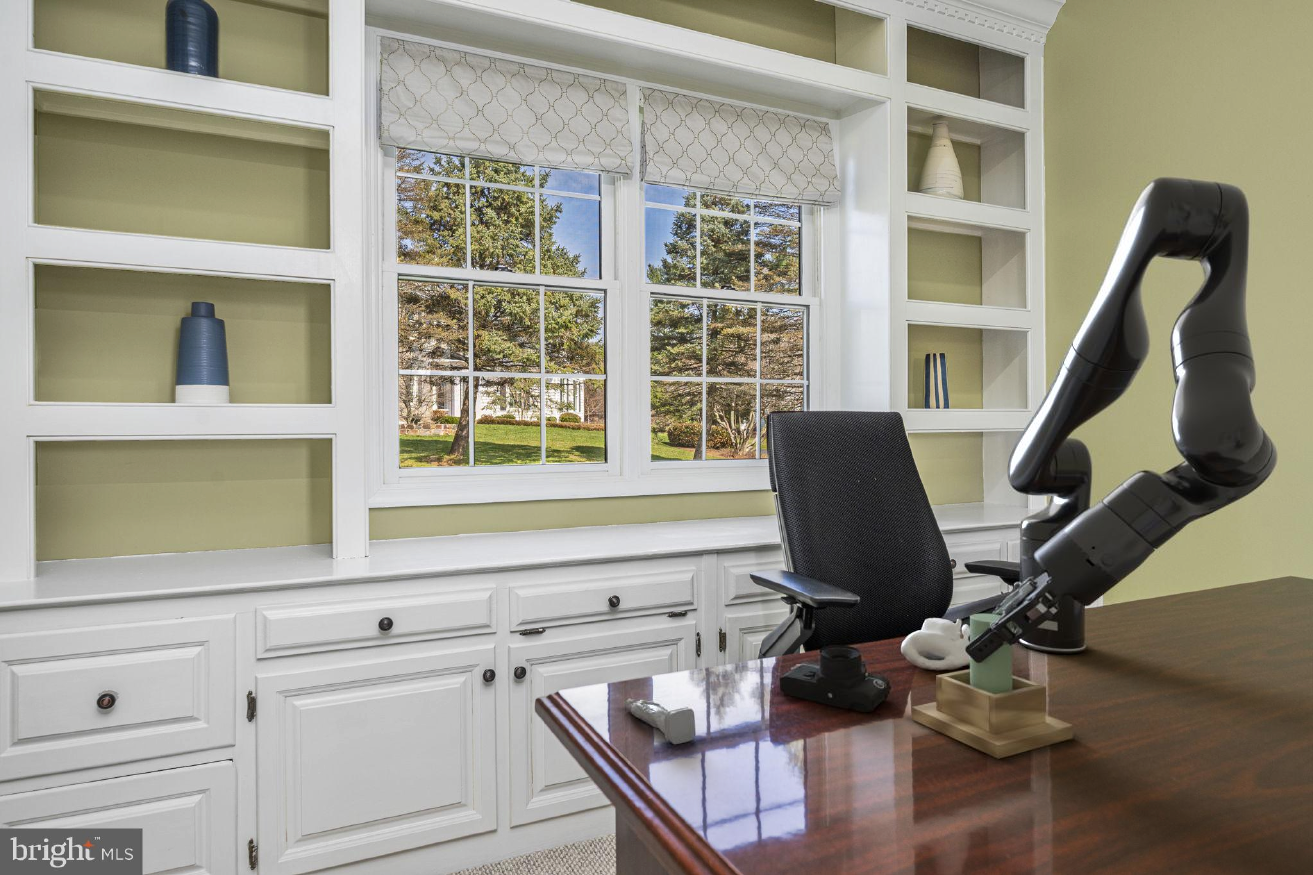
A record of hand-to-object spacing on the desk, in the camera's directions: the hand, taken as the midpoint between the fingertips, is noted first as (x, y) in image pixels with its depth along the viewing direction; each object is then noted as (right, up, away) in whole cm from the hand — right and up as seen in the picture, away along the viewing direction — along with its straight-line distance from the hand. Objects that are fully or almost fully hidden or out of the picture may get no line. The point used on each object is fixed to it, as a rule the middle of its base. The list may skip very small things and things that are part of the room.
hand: (972, 649), depth 86 cm
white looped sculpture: (+6, -9, +23) cm, 25 cm away
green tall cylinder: (+2, -5, -1) cm, 5 cm away
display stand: (+2, -9, -1) cm, 9 cm away
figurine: (-37, -9, 0) cm, 38 cm away
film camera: (-13, -9, +10) cm, 19 cm away
